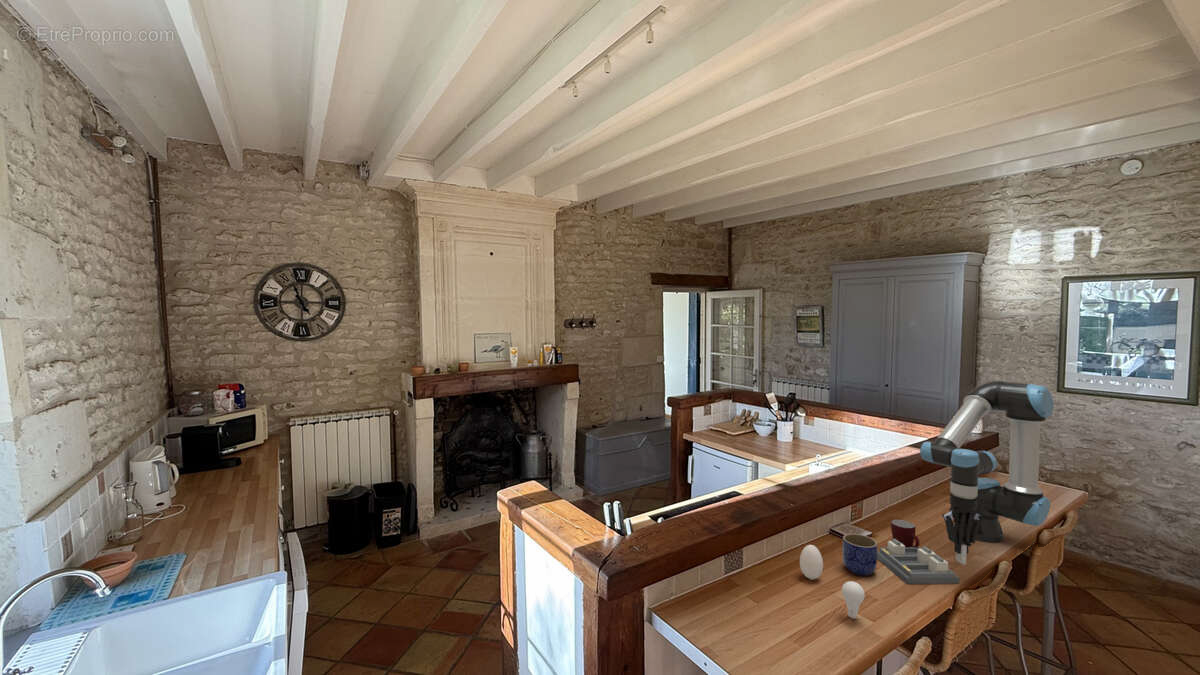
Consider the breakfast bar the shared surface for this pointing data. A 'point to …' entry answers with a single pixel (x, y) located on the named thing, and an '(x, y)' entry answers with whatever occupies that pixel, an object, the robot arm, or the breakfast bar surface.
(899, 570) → the switch bank
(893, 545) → the tab
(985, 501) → the robot arm
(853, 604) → the lightbulb
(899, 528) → the mug
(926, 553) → the tab
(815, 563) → the egg
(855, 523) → the breakfast bar surface
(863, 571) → the planter
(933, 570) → the white and grey block
